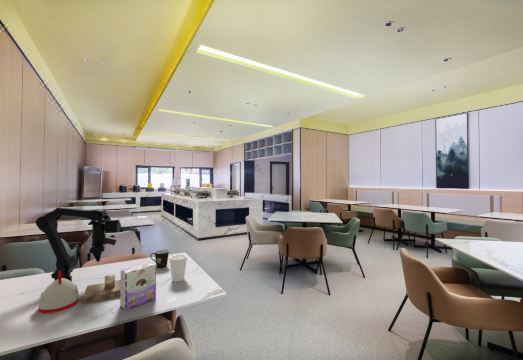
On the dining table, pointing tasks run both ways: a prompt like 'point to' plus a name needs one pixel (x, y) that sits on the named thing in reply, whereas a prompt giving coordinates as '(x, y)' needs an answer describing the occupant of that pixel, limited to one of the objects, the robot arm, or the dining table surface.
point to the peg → (109, 281)
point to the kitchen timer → (58, 296)
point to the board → (101, 292)
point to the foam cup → (178, 267)
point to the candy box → (137, 285)
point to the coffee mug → (161, 258)
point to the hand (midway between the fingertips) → (98, 261)
